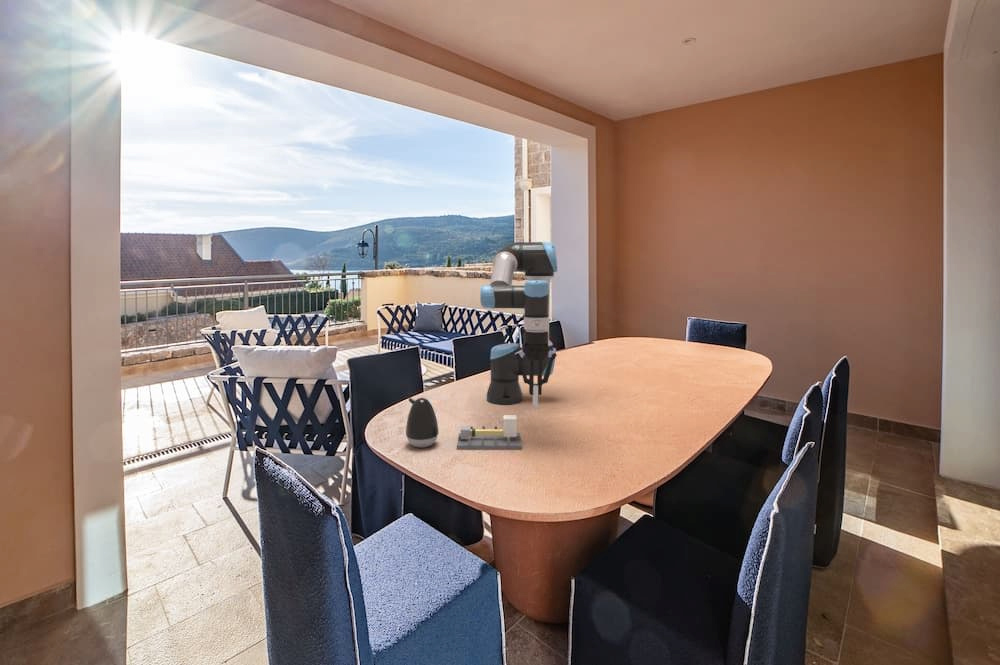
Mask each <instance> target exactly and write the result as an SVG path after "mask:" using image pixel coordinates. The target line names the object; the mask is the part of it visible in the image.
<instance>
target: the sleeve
mask: <svg viewBox="0 0 1000 665" xmlns="http://www.w3.org/2000/svg"><path fill="white" fill-rule="evenodd" d="M502 429H504V437H516V429H517V415H516V414H511V415H510V414H504V415H503V428H502Z"/></svg>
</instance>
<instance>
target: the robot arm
mask: <svg viewBox="0 0 1000 665" xmlns="http://www.w3.org/2000/svg"><path fill="white" fill-rule="evenodd" d="M557 262H558V260H557V254H556V247H555V244H554V243H553V242H549V241H548V242H546V241H534V242H533V241H530V242H529V241H526V242H525V241H523V242H522V241H516V242H512V243H508V244H506V245H505V246H503V247H501V248H500V249H499V250H498V251H497V252H496V253H495V254H494V256H493V260H492V267H493V268H492V274H491V278H490V281H489V284H487V285H485V284H484V285H482V286H481V287H480V297H479V298H480V305H481V307H482V308H484V309H522V310H523V309H524V310H523V311H524V314H523V330H524V332H523V345H522V347H521V346H520V345H519V343H517V342H516V343H515V342H514V343H513V342H510V343H501V344H498V345H495V346H493V347H492V348H491V350H490V357H489V359H490V382H489V386H488V389H487V392H486V401H487V402H489V403H491V404H496V405H514V404H518V403H521V402H522V401H523V400H524V399H523V398H524V396H523V392H522V388H521V385H520V382H519V376H522V379H523V383H524V384H527V385H528V386H529V389H528V390H529V391H528V392H529V396H532V406H533V407H539V396H542V391H543V390H542V388H543V387H542V386H543V385H544V384H547V383H548V382H549V380H550V379H549V378H550V376H552V374H553V372H554V368H555V362H556V357H557V356H558V355H557V348H555V347H553V346H554V344H553V342H552V341H551V340H550V304H551V303H550V299H551V298H550V297H551V296H550V295H551V294H550V292H551V286H550V285H551V283H550V282H551V280H552V279H553V278H554V277H555V276H554V275H555V273H557V272H558V263H557ZM516 272H519V273H524V277H525V278H526V281H525V282H524V285H513V284H512V283H513V278H514V273H516ZM536 376H537V379H536V380H537V383H534V381H535V379H534V377H536Z"/></svg>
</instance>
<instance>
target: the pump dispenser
mask: <svg viewBox="0 0 1000 665" xmlns="http://www.w3.org/2000/svg"><path fill="white" fill-rule="evenodd" d="M408 402H410V404H411V407H410V409H409V413H408V417H407V420H406V426H405V436H406V438H407V441H408V442H409V444H411V445H412V447H415V448H419V449H423V448H428V447H431V446H432V445H433V444H434V443H435V442H436V441H437V438H438V435H439V423H438V419H437V415H436V413H435V409H434V407H433V405H432V404H431V402H430V400H429V399H427V398H424V397H419V398H417V399H416V400H414V399H413V398H411V397H409V398H408Z"/></svg>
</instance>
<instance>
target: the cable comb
mask: <svg viewBox="0 0 1000 665" xmlns="http://www.w3.org/2000/svg"><path fill="white" fill-rule="evenodd" d="M473 427H474V426H473V425H469V426H468V425H461V428H460V432H459V433H458V438H457V443H456V450H522V448H523V447H522V438H521V433H520V432H519V429H517V428H516V437H504V429H503V428H502V429H501V428H500V429H498V425H494V428H493V429H492V428H490V429H489V428H488V429H487V428H486V425H482V428H479V429H478V428H473Z"/></svg>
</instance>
